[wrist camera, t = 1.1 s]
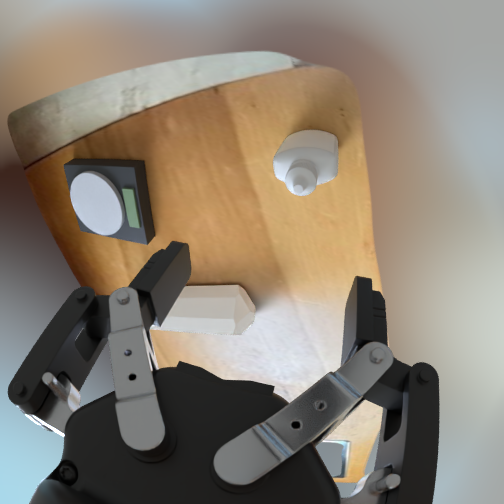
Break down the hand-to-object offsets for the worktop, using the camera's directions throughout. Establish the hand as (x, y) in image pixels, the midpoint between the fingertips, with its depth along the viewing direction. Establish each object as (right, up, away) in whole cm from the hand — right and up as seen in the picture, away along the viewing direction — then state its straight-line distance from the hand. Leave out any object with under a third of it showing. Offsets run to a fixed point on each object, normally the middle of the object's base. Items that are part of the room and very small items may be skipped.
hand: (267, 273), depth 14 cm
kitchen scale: (-22, +9, +28) cm, 36 cm away
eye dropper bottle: (+6, +12, +16) cm, 21 cm away
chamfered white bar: (-11, -7, +36) cm, 39 cm away
